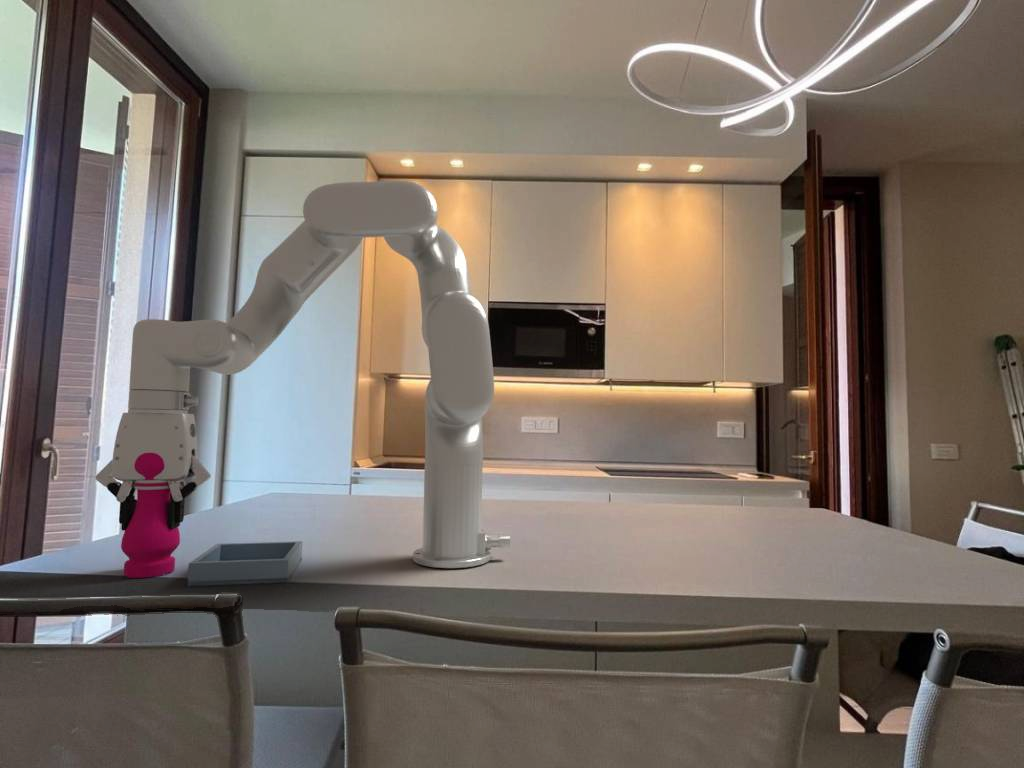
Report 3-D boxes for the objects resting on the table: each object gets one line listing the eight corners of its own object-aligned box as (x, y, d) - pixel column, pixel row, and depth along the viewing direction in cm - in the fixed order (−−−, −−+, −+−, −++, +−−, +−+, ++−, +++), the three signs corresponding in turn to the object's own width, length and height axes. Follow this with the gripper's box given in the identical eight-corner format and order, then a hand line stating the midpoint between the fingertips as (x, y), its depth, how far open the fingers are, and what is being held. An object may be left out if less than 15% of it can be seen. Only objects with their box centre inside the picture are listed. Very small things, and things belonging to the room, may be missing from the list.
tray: (301, 560, 90) (302, 541, 90) (287, 582, 78) (288, 559, 78) (216, 563, 88) (217, 543, 88) (187, 586, 75) (188, 563, 76)
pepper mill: (189, 567, 85) (196, 434, 87) (154, 580, 78) (163, 435, 79) (144, 565, 86) (152, 433, 87) (106, 578, 79) (115, 434, 80)
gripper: (228, 405, 89) (222, 522, 88) (106, 403, 85) (98, 525, 84) (213, 404, 82) (207, 531, 80) (79, 401, 78) (70, 534, 77)
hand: (151, 526), depth 82 cm, fingers closed on pepper mill, 5 cm apart
